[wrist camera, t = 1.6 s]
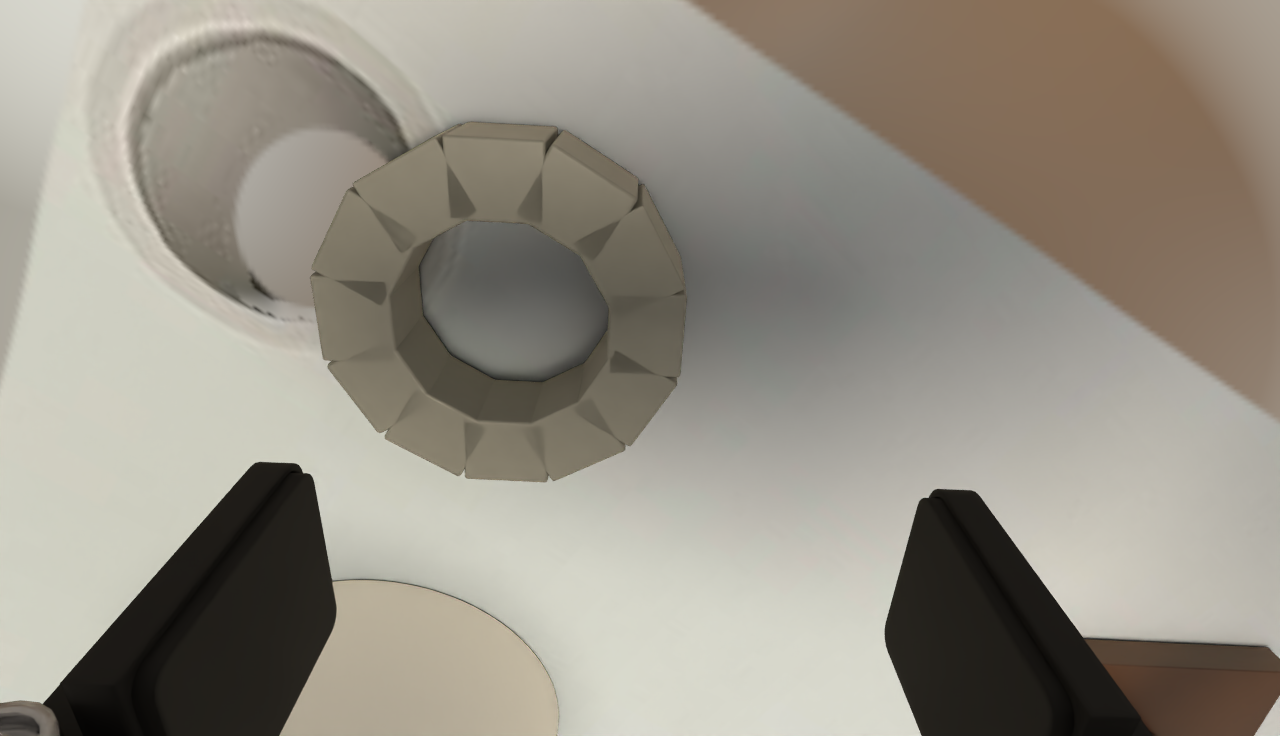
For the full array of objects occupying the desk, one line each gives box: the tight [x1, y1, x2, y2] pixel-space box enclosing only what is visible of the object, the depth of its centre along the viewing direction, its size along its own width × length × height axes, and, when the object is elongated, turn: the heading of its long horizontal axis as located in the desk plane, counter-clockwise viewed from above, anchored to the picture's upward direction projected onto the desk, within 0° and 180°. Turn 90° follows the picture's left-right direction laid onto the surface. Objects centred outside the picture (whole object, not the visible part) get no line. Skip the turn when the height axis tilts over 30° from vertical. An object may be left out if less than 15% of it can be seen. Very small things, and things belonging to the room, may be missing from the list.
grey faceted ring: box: [310, 122, 687, 482], centre depth 20 cm, size 10×10×3 cm
